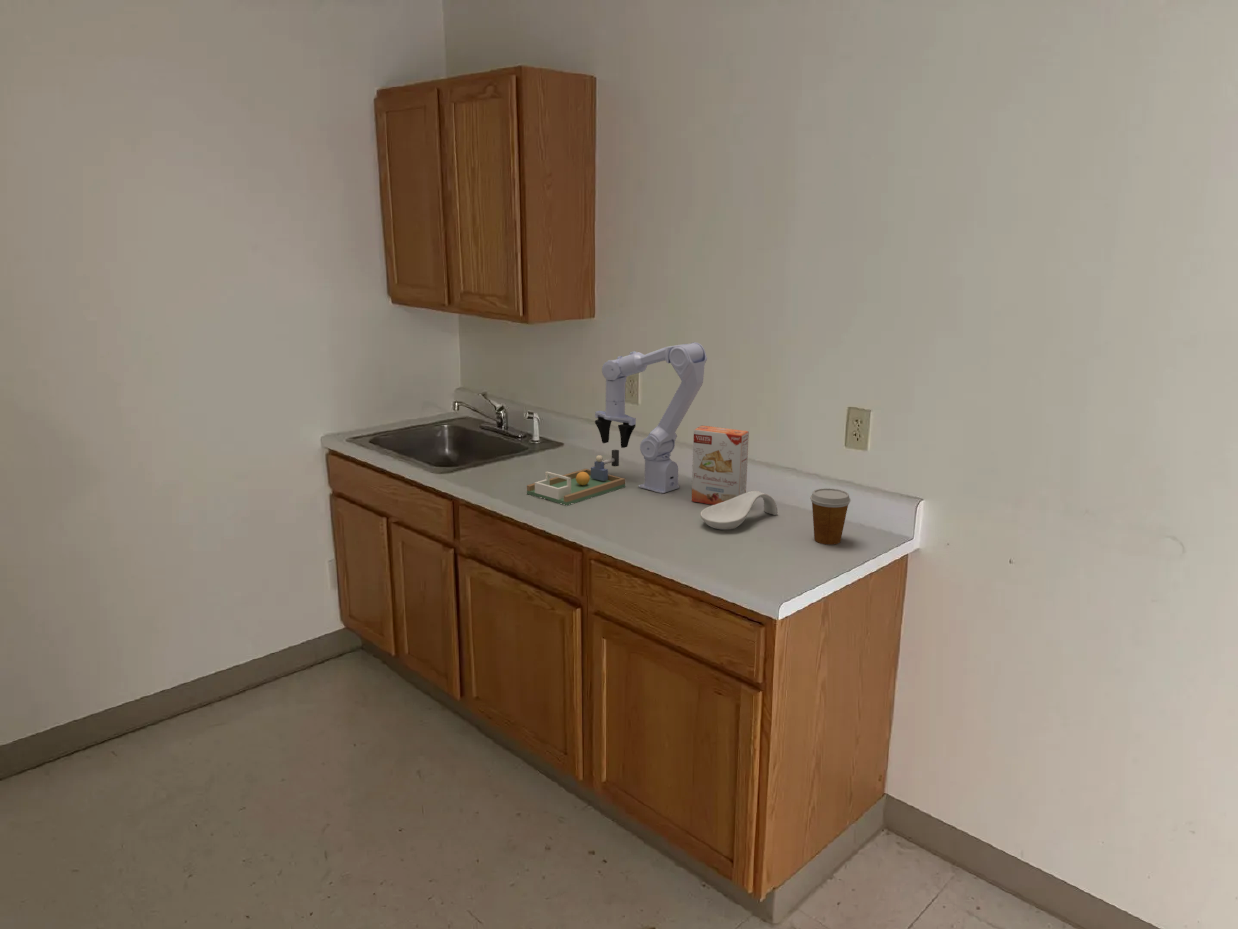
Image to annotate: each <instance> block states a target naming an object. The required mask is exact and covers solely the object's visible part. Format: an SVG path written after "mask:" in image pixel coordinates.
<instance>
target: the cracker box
mask: <svg viewBox="0 0 1238 929" xmlns="http://www.w3.org/2000/svg"><path fill="white" fill-rule="evenodd" d="M749 434H750V433H749V431H748V430H740V429H734V428H726V427H725V428H724V427H718V426H710V425H709V426H708V425H700V426H698V427H697V428H695V429H693V446H692V471H691V472H692V474H691V476H692V477H691V502H694V503H701V504H706V505H710V506H712V505H716V504H718V503H721V502H724V501H727V500H730V499H732V498H735V497H737V496H739V495H742V494H744V493H747V480H748V479H747V477H748V454H749V438H750V437H749Z"/></svg>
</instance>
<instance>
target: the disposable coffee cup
mask: <svg viewBox="0 0 1238 929" xmlns="http://www.w3.org/2000/svg"><path fill="white" fill-rule="evenodd" d="M809 497H810V502H811V505H812V506H811V507H812V522H813V538H814V539H813V540H814V541H815V542H816V543H818V544H822V545H829V546H830V545H839V543H841V541H842V536H843V531H844V527H845V523H846V522H845V521H846V517H847V514H848V513H847V512H848V508H849V505H850V503H851V501H852V500H851V498H850V494H849V492H847V491H845V490H842V489H838V488H830V487H829V488H828V487H825V488H816V489H814V490H813V491H812V492H811V495H810V496H809Z"/></svg>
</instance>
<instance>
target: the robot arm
mask: <svg viewBox="0 0 1238 929" xmlns="http://www.w3.org/2000/svg"><path fill="white" fill-rule="evenodd" d="M664 361H665V362H666V363H667V364H670V365H671V366H672V368H673V369H674V371H675V373H676V374H677V376H678V377H679V379H680V380H681V382H680V384H679V386H678V388H677V390H676V391H675V393H674V394H673V395H674V396H673V397H672V399H671V400H670V402H669V405H668V406H667V408H666V410H665V412H664V413H663V415H662V417H661V419H660V421H659V423H658V424H657V426H655V428H653V429H652V430H651V431H650V432H649V434H648V435H647V437H645V438H643V439H642V440H641V441H640V444H639V450H640V454H641V455H642V456H643V459H644V482H643V483H642V484H638V488H640V489H644V490H649V491H652V492H656V493H660V494H664V493H668V492H671V491H674V490H677V489H680V486H679V465H678V463H677V462H676V461H673V460H672V459H671V456H672V454H671V453H672V452H673V451H674V450H675V447H676V439H677V437H678V435H677V434H678V433H677V430H678V428H679V427H680V425H681V423H682V421H683V420H684V418H685V416H686V414H687V412H688V411H689V409H690V406H691V405H692V403H693V402H694V400H695V398H696V397H697V394H698V392H699V391H700V390H701V387H702V386H703V383H704V377H705V376H704V375H705V366H706V365H705V364H706V363H707V361H708V356H707V354H706V350H705V348H704V346H703V345H702V344H701V343H699V342H695V341H694V342H690V343H684V344H683V343H682V344H675V345H669V346H664V347H662V348H659V349H657V350H654V351H650V352H648V353H646V354H644V353H642V352H639V351H636V350H634V351H631V352H629V354H628V355H625V356H623V355H618V356H617V359H608V360H607V361H605V362H604V363H603V364H602V367H601V373H602V376H603V377H604V379H605V410H597V411H594V412H595V413H594V417H595V419H596V420H594V423H595V425H596V427H597V429H598V432H599V435H600V438H601V442H602V444H606V443H609V440H610V429H611V425H612V422H616V423H622V424H618V426H617V427H618V431H619V436H620V447H621V449H625V448H627V447H628V446H629V442H630V438H631V436H632V433H633V432H634V430H635V428H636V421H637V420H636V417H632V416H631V415H628V414H626V382H627V378H628V377H630V376H632V375H636V374H639V373H643V372H645V371H646V370H647V367H648V366H649V365H653V364H657V363H660V362H664Z"/></svg>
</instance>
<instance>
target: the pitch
mask: <svg viewBox="0 0 1238 929" xmlns="http://www.w3.org/2000/svg"><path fill="white" fill-rule="evenodd" d="M579 472H586V473H588V475H589V477H590V480H589V482H588V484H586V485H579V484H578V483H577V481H576V476H577V474H578V473H579ZM544 473H545V474H544V475H545V479H542V480H539V481H535V482H534V483H530V484H527V485H526V494H527V495H529V494H530V496H533V497H537V498H540V497H542V498H541V499H543V498H545V499H544V500H546V499H548V500H547V501H550V500H551V501H550V502H553V503H556V502H557V504H560V503H562V504H561V505H563V504H565V505H564V506H566V505H567V506H570V505H572V504H571V503H574V504H575V503H580V502H583V501H586V500H589V499H591V497H592V498H595V497H598V496H601V495H604V494H608V493H611V492H613V491H617V490H620V489H623V488H626V478H624V477H620V476H616V475H612V474H609V473H608V480H606V481H600V480H597V479H593V478H591V469H588V468H583V469H580V470H576V471H573V472H569V473H566V474H558V473H554V472H550V471H545V472H544ZM550 476H552V478H550ZM610 491H611V492H610ZM607 492H608V493H607ZM588 498H589V499H588ZM585 499H586V500H585ZM569 504H570V505H569Z"/></svg>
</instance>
